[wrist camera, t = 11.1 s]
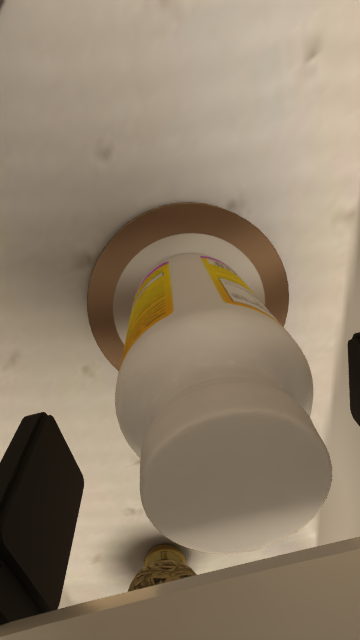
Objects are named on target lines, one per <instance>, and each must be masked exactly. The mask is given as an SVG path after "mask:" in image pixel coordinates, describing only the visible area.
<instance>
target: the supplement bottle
mask: <svg viewBox="0 0 360 640" xmlns="http://www.w3.org/2000/svg"><path fill="white" fill-rule="evenodd" d="M312 401H313V380H312V375H311V371H310V368H309V365H308V362H307V360H306V358H305V356H304V354H303V352H302V350H301V349H300V347H299V346H298V344H297V343H296V342H295V341H294V339H293V338H292V337H291V336H290V334H289V333H288V332H287V331H286V330H285V328H284V327H283V326H282V325H281V324H280V323H279V322H278V321H277V319H276V318H275V317H274V316H273V315H272V314H271V313H270V312H269V310H268V309H267V308H266V307H265V306H264V304H263V303H262V302H261V301H260V300H259V299H258V297H257V296H256V295H255V294H254V292H252V290H251V289H250V288H249V287H248V286H247V284H246V283H245V282H244V281H243V280H242V279H241V278H240V276H239V275H238V274H237V273H236V272H235V271H234V270H232V269H231V268H230V267H229V266H228V265H226V264H225V263H223V262H222V261H220V260H218V259H215V258H213V257H210V256H206V255H201V254H183V255H178V256H174V257H172V258H169V259H167V260H165V261H163V262H161V263H159V264H158V265H156V266H155V267H154V268H153V269H152V270H150V271H149V272H148V274H147V275H146V276H145V277H144V278H143V280H142V281H141V283H140V285H139V287H138V289H137V291H136V294H135V297H134V301H133V305H132V310H131V315H130V319H129V325H128V329H127V335H126V340H125V345H124V350H123V355H122V359H121V364H120V369H119V374H118V379H117V385H116V393H115V406H116V414H117V418H118V422H119V425H120V428H121V430H122V433H123V435H124V437H125V439H126V441H127V442H128V444H129V445H130V447H131V448H132V449H133V451H134V452H135V453H136V454H137V456H138V457H140V458H141V461H140V495H141V501H142V505H143V508H144V510H145V512H146V514H147V516H148V518H149V519H150V521H151V522H152V523H153V525H154V526H155V527H156V528H157V529H158V531H160V532H161V533H162V534H163V535H164V536H166V537H167V538H168V539H170V540H172V541H173V542H175V543H177V544H179V545H181V546H184V547H186V548H189V549H193V550H197V551H200V552H205V553H213V554H238V553H244V552H250V551H255V550H259V549H263V548H265V547H268V546H271V545H273V544H276V543H278V542H280V541H282V540H284V539H286V538H288V537H290V536H292V535H293V534H295V533H296V532H298V531H299V530H300V529H302V528H303V527H304V526H305V525H306V524H307V523H309V522H310V521H311V520H312V519H313V518H314V516H315V515H316V514H317V512H318V511H319V510H320V508H321V507H322V505H323V503H324V502H325V500H326V498H327V496H328V493H329V490H330V486H331V481H332V466H331V460H330V456H329V453H328V451H327V448H326V446H325V444H324V443H323V441H322V439H321V437H320V436H319V434H318V432H317V430H316V429H315V427H314V425H313V423H312V421H311V419H310V414H311V409H312Z"/></svg>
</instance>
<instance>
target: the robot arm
mask: <svg viewBox="0 0 360 640" xmlns="http://www.w3.org/2000/svg"><path fill="white" fill-rule="evenodd" d="M0 2H1V0H0ZM348 362H349V363H348V364H349V388H350V410H351V414H352V416H353V418H354V420H355V421H356V422H357V423H358V425H359V426H360V332H359V333H355V334H354V335H353V337H352V339H351V340H349V341H348ZM83 489H84V479H83V475H82V473H81V471H80V469H79V467H78V465H77V463H76V461H75V459H74V457H73V455H72V453H71V451H70V449H69V447H68V445H67V443H66V441H65V439H64V437H63V435H62V433H61V431H60V429H59V427H58V425H57V423H56V421H55V419H54V418H53V416H52V415H47V414H46V413H45V412H41V413H37V414H33V415H29V416H26V417H24V418H23V419H22V421H21V423H20V425H19V427H18V429H17V431H16V433H15V435H14V437H13V439H12V441H11V443H10V445H9V447H8V448H7V450H6V452H5V454H4V456H3V458H2V460H1V462H0V640H360V537H356V538H352V539H348V540H343V541H340V542H335V543H330V544H326V545H322V546H318V547H313V548H309V549H305V550H300V551H296V552H292V553H288V554H284V555H279V556H275V557H271V558H267V559H262V560H258V561H254V562H250V563H246V564H241V565H237V566H233V567H229V568H225V569H220V570H216V571H212V572H208V573H204V574H200V575H195V576H191V577H187V578H183V579H179V580H175V581H170V582H166V583H162V584H158V585H154V586H150V587H146V588H142V589H138V590H134V591H130V592H125V593H121V594H117V595H113V596H109V597H105V598H101V599H97V600H93V601H89V602H85V603H80V604H76V605H73V606H69V607H66V608H61V609H58V606H59V603H60V599H61V594H62V589H63V585H64V580H65V575H66V570H67V565H68V561H69V556H70V551H71V546H72V541H73V537H74V532H75V527H76V522H77V517H78V513H79V508H80V503H81V498H82V493H83ZM57 609H58V610H57Z"/></svg>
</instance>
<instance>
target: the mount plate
mask: <svg viewBox="0 0 360 640" xmlns="http://www.w3.org/2000/svg"><path fill="white" fill-rule="evenodd" d="M183 254H201V255H206V256H210V257H213V258H215V259H218V260H220V261H222V262H223V263H225V264H226V265H228V266H229V267H230V268H231V269H232V270H234V271H235V272H236V273H237V274H238V275H239V276H240V278H241V279H242V280H243V281H244V282H245V283H246V284H247V286H248V287H249V288H250V289H251V290H252V292H254V294H255V295H256V296H257V297H258V299H259V300H260V301H261V302H262V303H263V304H264V306H265V307H266V308H267V309H268V310H269V312H270V313H271V314H272V315H273V316H274V317H275V318H276V319H277V321H278V322H279V323H280V324H281V325H282V326H283V327H284V324H285V321H286V316H287V312H288V303H289V290H288V281H287V276H286V272H285V269H284V266H283V263H282V261H281V259H280V257H279V255H278V253H277V251H276V249H275V248H274V246H273V245H272V244H271V242H270V241H269V240H268V238H267V237H266V236H265V235H264V234H263V233H262V232H261V231H260V230H259V229H258V228H256V227H255V226H254V225H253V224H251V223H250V222H249V221H247V220H246V219H244V218H242V217H240V216H238V215H237V214H235V213H232V212H230V211H227V210H225V209H222V208H220V207H217V206H212V205H208V204H203V203H192V202H189V203H175V204H170V205H164V206H161V207H158V208H155V209H152V210H150V211H148V212H146V213H144V214H142V215H140V216H138V217H136V218H135V219H133V220H132V221H130V222H129V223H128V224H126V225H125V226H124V227H123V228H122V229H121V230H120V231H119V232H118V233H117V234H116V235H115V236H114V237H113V238H112V240H111V241H110V242H109V243H108V245H107V246H106V247H105V249H104V250H103V252H102V254H101V255H100V257H99V258H98V260H97V263H96V265H95V267H94V269H93V272H92V275H91V279H90V283H89V288H88V296H87V311H88V317H89V323H90V326H91V330H92V333H93V336H94V338H95V340H96V342H97V344H98V346H99V348H100V349H101V351H102V352H103V354H104V356H105V357H106V358H107V359H108V360H109V362H110V363H111V364H112V365H113V366H114V367H115V368H116V369H117V370H118V371H119V369H120V364H121V359H122V355H123V350H124V345H125V340H126V335H127V329H128V325H129V319H130V315H131V310H132V305H133V301H134V297H135V294H136V291H137V289H138V287H139V285H140V283H141V281H142V280H143V278H144V277H145V276H146V275H147V274H148V272H149V271H150V270H152V269H153V268H154V267H155V266H156V265H158V264H159V263H161V262H163V261H165V260H167V259H169V258H172V257H174V256H178V255H183Z"/></svg>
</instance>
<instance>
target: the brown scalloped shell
mask: <svg viewBox="0 0 360 640" xmlns="http://www.w3.org/2000/svg"><path fill="white" fill-rule="evenodd" d="M195 575H196V573H195V572H194V571H193V570H192V569H191V568H190V567H189V566H187V565H186V560H185V557H184V555H183V553H182V551H181V550H180V549H179V548H177V547H176V546H173V545H168V544H164V545H159V546H156V547H154V548H152V549H151V550H150V551H149V552H148V554H147V555H146V558H145V560H144V568H143V569H141V570H140V571H139V572H138V573H137V575H136V576H135V577H134V579H133V581H132V582H131V585H130V587H129V589H128V592H130V591H134V590H138V589H142V588H146V587H150V586H154V585H158V584H162V583H166V582H170V581H175V580H179V579H183V578H187V577H191V576H195Z"/></svg>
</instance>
